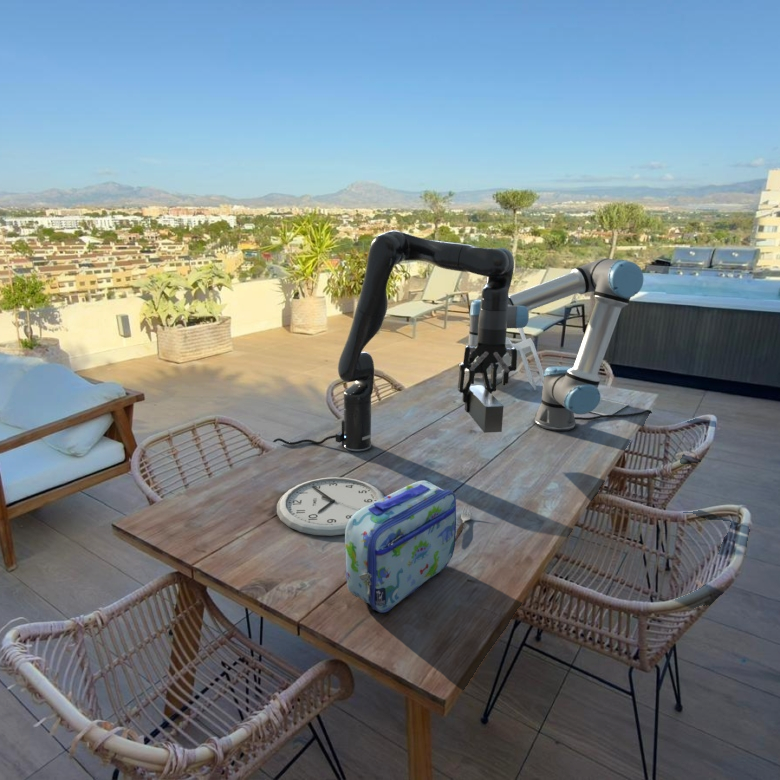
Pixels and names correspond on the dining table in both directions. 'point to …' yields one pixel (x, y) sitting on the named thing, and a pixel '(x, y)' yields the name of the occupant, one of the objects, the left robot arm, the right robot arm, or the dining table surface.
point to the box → (485, 409)
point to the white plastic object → (522, 349)
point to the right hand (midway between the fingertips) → (475, 410)
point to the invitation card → (608, 407)
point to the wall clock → (325, 504)
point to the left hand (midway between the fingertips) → (488, 384)
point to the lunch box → (399, 543)
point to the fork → (464, 518)
